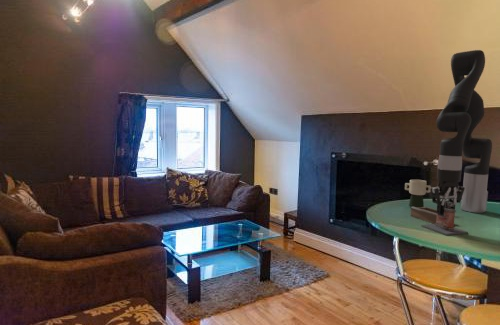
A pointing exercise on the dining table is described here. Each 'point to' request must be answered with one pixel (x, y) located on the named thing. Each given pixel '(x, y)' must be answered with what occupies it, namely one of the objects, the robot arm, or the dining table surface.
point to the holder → (424, 214)
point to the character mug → (417, 192)
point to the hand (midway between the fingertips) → (445, 214)
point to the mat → (443, 231)
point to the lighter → (446, 217)
